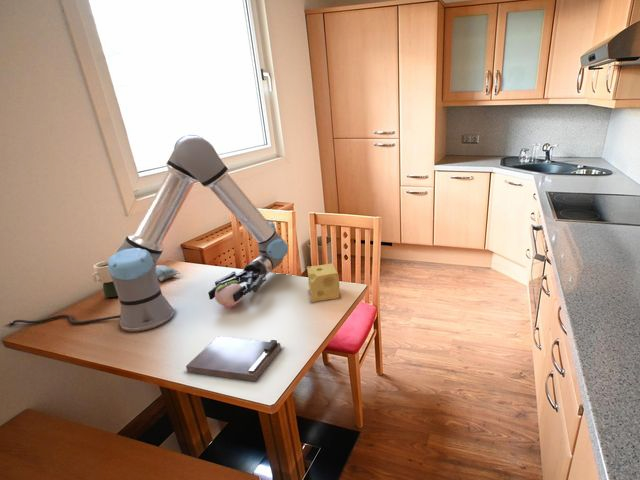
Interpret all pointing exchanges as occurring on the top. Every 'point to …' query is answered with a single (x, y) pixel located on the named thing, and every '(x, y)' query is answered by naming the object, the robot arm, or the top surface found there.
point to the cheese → (323, 282)
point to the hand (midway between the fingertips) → (222, 297)
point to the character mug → (104, 278)
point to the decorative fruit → (227, 293)
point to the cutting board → (235, 358)
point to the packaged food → (165, 272)
